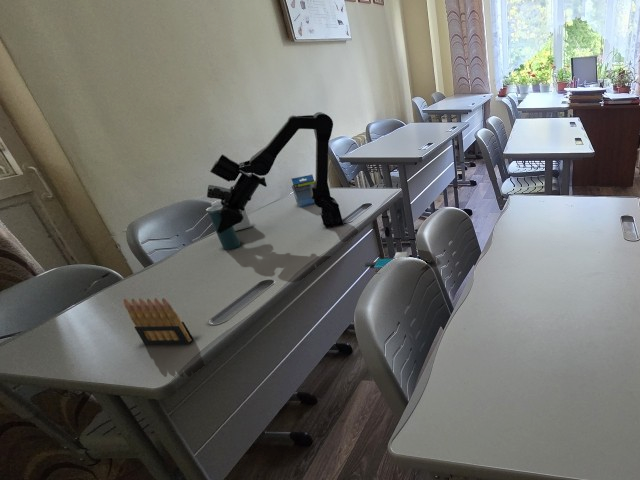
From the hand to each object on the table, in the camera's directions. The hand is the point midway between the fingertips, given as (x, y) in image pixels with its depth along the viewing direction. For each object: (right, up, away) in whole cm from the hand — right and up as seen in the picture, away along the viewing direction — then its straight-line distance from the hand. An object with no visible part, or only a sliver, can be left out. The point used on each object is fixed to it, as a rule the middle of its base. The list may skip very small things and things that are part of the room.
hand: (219, 228), depth 134 cm
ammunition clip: (+18, -32, -42) cm, 56 cm away
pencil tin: (+2, -6, +4) cm, 7 cm away
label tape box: (+11, +16, +41) cm, 45 cm away
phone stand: (+64, -12, -12) cm, 66 cm away
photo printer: (-6, +2, +18) cm, 19 cm away
